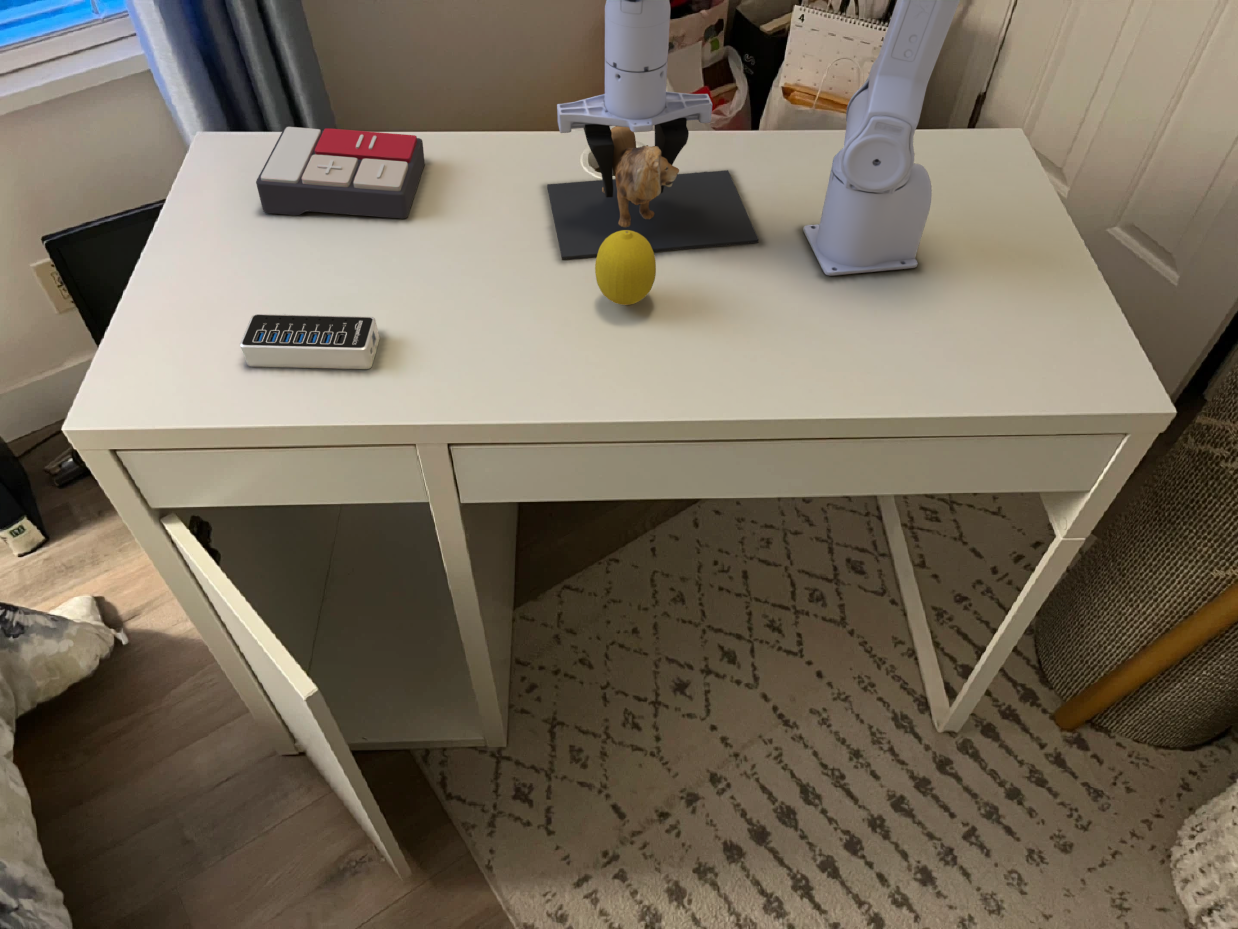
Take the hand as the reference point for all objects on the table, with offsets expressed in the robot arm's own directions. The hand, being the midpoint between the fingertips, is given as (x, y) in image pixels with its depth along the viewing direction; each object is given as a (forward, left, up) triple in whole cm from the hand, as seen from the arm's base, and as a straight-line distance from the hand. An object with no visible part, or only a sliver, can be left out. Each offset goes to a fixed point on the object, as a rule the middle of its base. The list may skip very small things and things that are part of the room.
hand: (632, 189), depth 95 cm
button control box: (+29, -10, -4) cm, 31 cm away
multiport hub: (+31, +16, -4) cm, 35 cm away
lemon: (+3, +13, -4) cm, 14 cm away
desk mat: (-2, -1, -3) cm, 4 cm away
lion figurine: (0, 0, -2) cm, 2 cm away
